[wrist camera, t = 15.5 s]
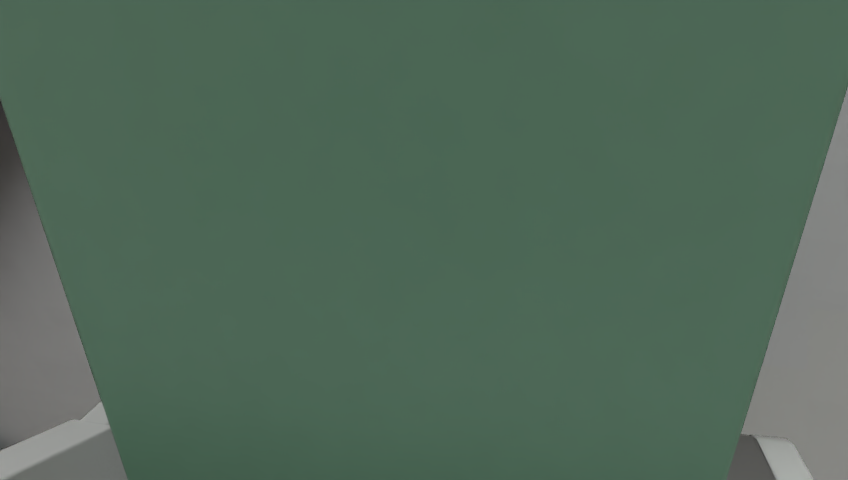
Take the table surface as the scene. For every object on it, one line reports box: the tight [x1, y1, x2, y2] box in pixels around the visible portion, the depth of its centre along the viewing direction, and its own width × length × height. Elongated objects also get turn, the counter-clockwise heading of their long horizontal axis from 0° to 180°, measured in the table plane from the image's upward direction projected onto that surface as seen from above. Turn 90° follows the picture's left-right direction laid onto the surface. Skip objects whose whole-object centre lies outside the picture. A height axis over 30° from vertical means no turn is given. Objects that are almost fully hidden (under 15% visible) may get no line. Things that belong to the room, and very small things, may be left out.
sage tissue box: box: [0, 0, 848, 480], centre depth 7 cm, size 14×6×6 cm, turn 1°
